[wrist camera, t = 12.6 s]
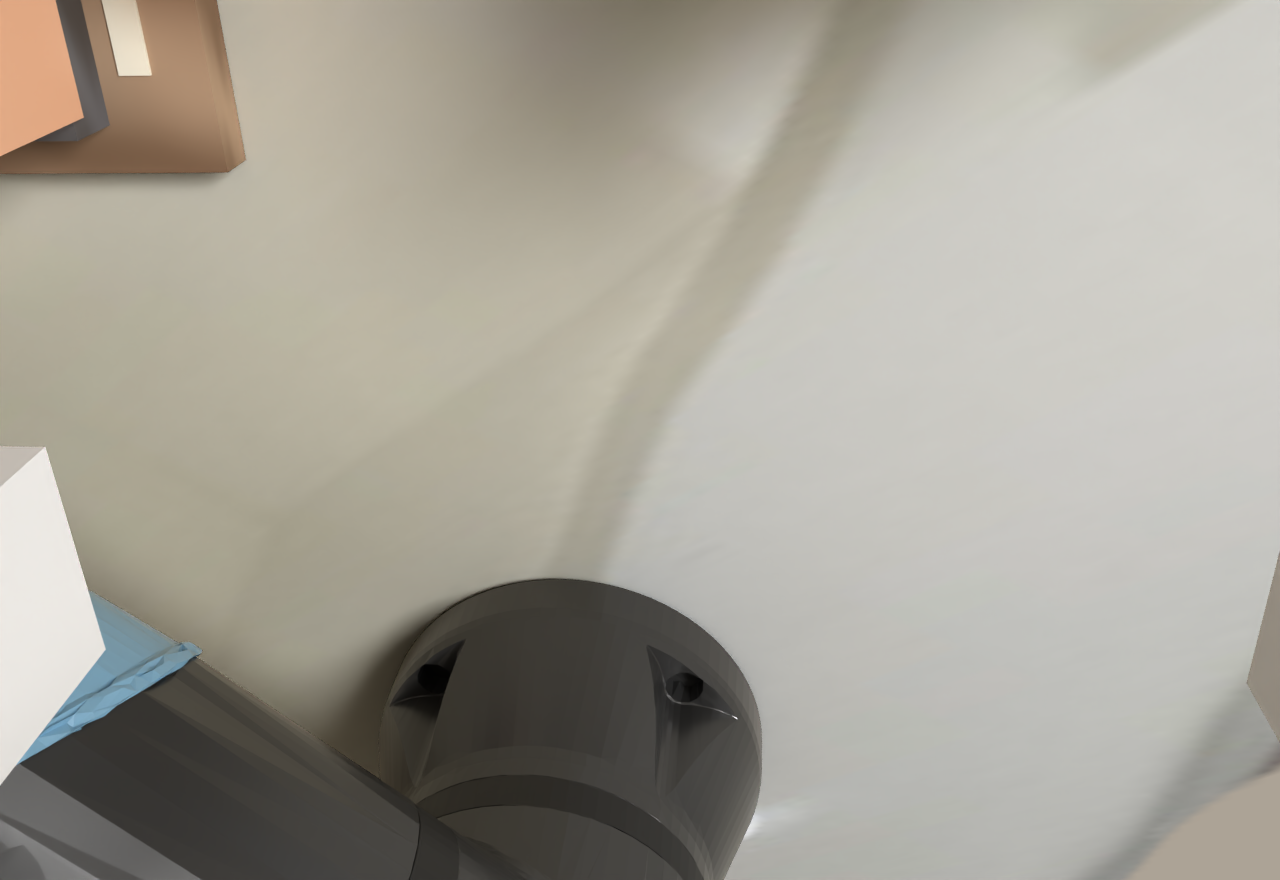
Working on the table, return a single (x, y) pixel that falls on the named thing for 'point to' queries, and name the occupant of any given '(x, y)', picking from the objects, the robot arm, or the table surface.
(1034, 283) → the table surface
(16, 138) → the block
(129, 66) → the pin board
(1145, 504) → the table surface
